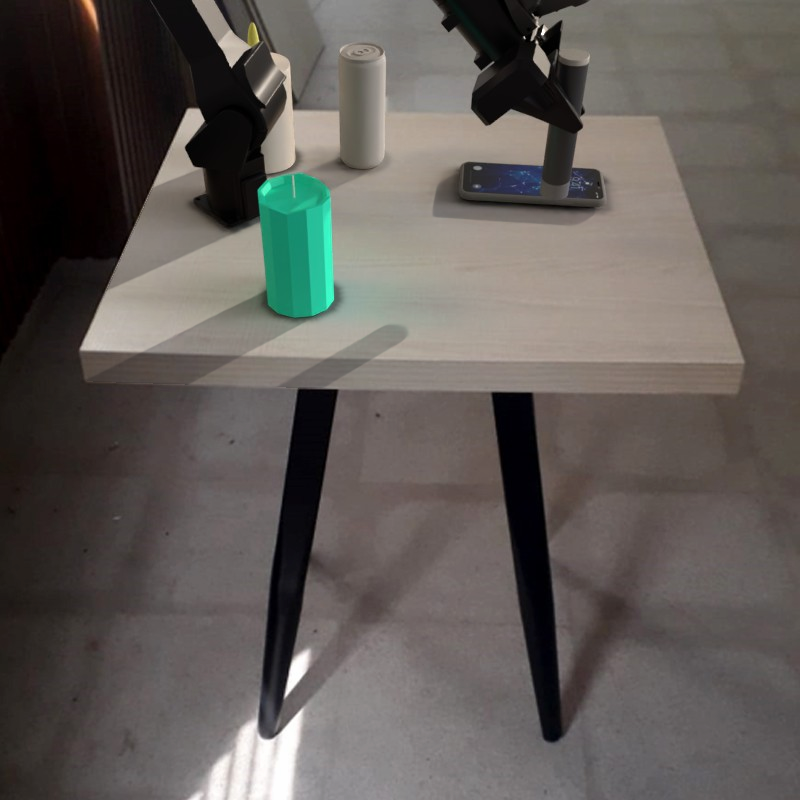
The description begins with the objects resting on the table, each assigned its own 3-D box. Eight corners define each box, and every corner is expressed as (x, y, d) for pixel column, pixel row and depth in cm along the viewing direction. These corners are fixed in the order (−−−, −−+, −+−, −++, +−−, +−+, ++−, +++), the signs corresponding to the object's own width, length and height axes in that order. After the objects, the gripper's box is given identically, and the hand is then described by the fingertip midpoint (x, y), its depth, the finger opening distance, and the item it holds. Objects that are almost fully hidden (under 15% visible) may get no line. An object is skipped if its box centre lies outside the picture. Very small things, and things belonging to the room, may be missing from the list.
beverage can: (331, 159, 103) (327, 49, 95) (364, 145, 106) (364, 37, 98) (359, 176, 101) (359, 64, 93) (393, 161, 103) (396, 52, 95)
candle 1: (300, 146, 105) (293, 8, 95) (289, 175, 100) (280, 33, 90) (244, 142, 106) (231, 4, 96) (230, 171, 101) (214, 29, 91)
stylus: (535, 195, 88) (554, 56, 79) (545, 183, 89) (564, 45, 81) (562, 203, 87) (583, 63, 78) (571, 190, 88) (594, 52, 80)
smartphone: (460, 159, 102) (602, 167, 101) (460, 167, 102) (600, 175, 102) (458, 193, 96) (608, 202, 95) (457, 202, 97) (606, 210, 96)
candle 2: (274, 275, 87) (264, 154, 79) (339, 280, 87) (335, 159, 78) (259, 314, 82) (247, 191, 74) (328, 320, 82) (323, 197, 74)
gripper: (530, -54, 66) (660, 115, 72) (552, -123, 79) (659, 24, 85) (414, 48, 72) (542, 195, 78) (452, -33, 86) (559, 98, 92)
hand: (580, 122), depth 83 cm, fingers closed on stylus, 2 cm apart
